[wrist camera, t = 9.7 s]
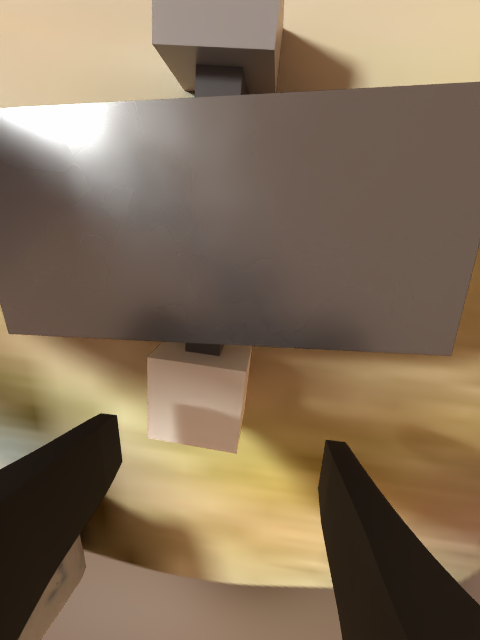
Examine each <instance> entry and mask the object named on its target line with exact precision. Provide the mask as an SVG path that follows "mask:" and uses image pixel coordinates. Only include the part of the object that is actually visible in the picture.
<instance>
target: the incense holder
mask: <svg viewBox="0 0 480 640" xmlns="http://www.w3.org/2000/svg"><path fill="white" fill-rule="evenodd" d="M85 568H86V565H85V559H84V552H83V547H82V544H81V538H80V535H79V536H78V538H77V539H76V541H75V542H74V544H73V545H72V547H71V548H70V550H69V551H68V553H67V555H66V556H65V558H64V559H63V561H62V562H61V564H60V565H59V567H58V569H57V570H56V572H55V574H54V575H53V577H52V578H51V580H50V582H49V584H48V585H47V587H46V589H45V591H44V593H43V594H42V596H41V598H40V600H39V602H38V604H37V605H36V607H35V609H34V611H33V613H32V614H31V616H30V618H29V620H28V622H27V623H26V625H25V627H24V629H23V631H22V633H21V635H20V637H19V639H18V640H41V639H42V638H43V636H44V635H45V633H46V631H47V630H48V628H49V627H50V625H51V624H52V622H53V621H54V620H55V618H56V617H57V615H58V614H59V612H60V611H61V609H62V608H63V606H64V605H65V603H66V602H67V600H68V599H69V597H70V595H71V594H72V592H73V591H74V589H75V588H76V586H77V585H78V583H79V582H80V580H81V578H82V576H83V573H84V570H85Z"/></svg>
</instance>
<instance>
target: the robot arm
mask: <svg viewBox="0 0 480 640" xmlns="http://www.w3.org/2000/svg"><path fill="white" fill-rule="evenodd" d="M121 463H122V454H121V446H120V437H119V429H118V420H117V415H110V414H102V413H101V414H99V415H97V416H95V417H93V418H91V419H89V420H87V421H86V422H84V423H82V424H80V425H79V426H77V427H75V428H73V429H72V430H70V431H68V432H67V433H65V434H63V435H61V436H60V437H58V438H56V439H54V440H53V441H51V442H49V443H48V444H46V445H44V446H42V447H41V448H39V449H37V450H35V451H34V452H32V453H30V454H28V455H26V456H24V457H22V458H21V459H19V460H17V461H15V462H13V463H11V464H9V465H8V466H6V467H4V468H2V469H0V640H18V639H19V637H20V635H21V633H22V631H23V629H24V627H25V625H26V623H27V622H28V620H29V618H30V616H31V614H32V613H33V611H34V609H35V607H36V605H37V604H38V602H39V600H40V598H41V596H42V594H43V593H44V591H45V589H46V587H47V585H48V584H49V582H50V580H51V578H52V577H53V575H54V574H55V572H56V570H57V569H58V567H59V565H60V564H61V562H62V561H63V559H64V558H65V556H66V555H67V553H68V551H69V550H70V548H71V547H72V545H73V544H74V542H75V541H76V539H77V538H78V536H79V535H80V533H81V532H82V530H83V529H84V527H85V526H86V524H87V522H88V521H89V519H90V518H91V516H92V515H93V513H94V512H95V510H96V509H97V507H98V505H99V504H100V502H101V501H102V499H103V498H104V496H105V494H106V493H107V491H108V489H109V488H110V486H111V484H112V482H113V480H114V478H115V476H116V474H117V472H118V470H119V467H120V465H121ZM318 492H319V505H320V515H321V525H322V530H323V536H324V541H325V546H326V551H327V557H328V562H329V567H330V572H331V578H332V583H333V588H334V593H335V598H336V604H337V608H338V614H339V620H340V626H341V632H342V639H343V640H480V605H479V604H478V603H477V602H476V601H475V600H474V599H473V598H472V597H471V596H470V595H469V594H468V593H467V592H466V591H465V590H464V589H463V588H462V587H461V586H460V585H459V584H458V583H457V581H456V580H455V579H454V578H453V577H452V576H451V575H450V574H449V573H448V572H447V571H446V570H445V569H444V567H443V566H442V565H441V564H440V563H439V562H438V561H437V560H436V559H435V558H434V556H433V555H432V554H431V553H430V552H429V551H428V550H427V549H426V547H425V546H424V545H423V544H422V543H421V542H420V540H419V539H418V538H417V537H416V536H415V534H414V533H413V532H412V531H411V530H410V528H409V527H408V526H407V525H406V524H405V522H404V521H403V520H402V519H401V517H400V516H399V515H398V514H397V512H396V511H395V510H394V509H393V507H392V506H391V505H390V503H389V502H388V501H387V499H386V498H385V497H384V495H383V494H382V493H381V492H380V490H379V489H378V488H377V486H376V485H375V483H374V482H373V481H372V479H371V478H370V477H369V475H368V474H367V472H366V471H365V470H364V468H363V467H362V465H361V464H360V462H359V461H358V459H357V458H356V457H355V455H354V454H353V452H352V451H351V449H350V448H349V446H348V445H347V444H346V443H345V442H339V441H331V440H326V442H325V448H324V454H323V461H322V467H321V473H320V480H319V486H318Z"/></svg>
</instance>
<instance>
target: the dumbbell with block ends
mask: <svg viewBox="0 0 480 640" xmlns="http://www.w3.org/2000/svg"><path fill="white" fill-rule="evenodd" d="M283 14H284V0H152V44H153V46H154V47H155V48H156V50H157V51H158V53H159V54H160V56H161V57H162V59H163V60H164V61H165V63H166V64H167V66H168V67H169V69H170V70H171V72H172V73H173V74H174V76H175V77H176V79H177V80H178V82H179V83H180V85H181V86H182V88H183V89H184V90H185V91H195V98H196V97H214V96H232V95H250V94H269V93H276V87H277V78H278V69H279V60H280V51H281V43H282V34H283ZM251 351H252V346H243V345H223V344H203V343H182V342H162V343H161V344H160V345H159V346H158V347H157V348H156V349H155V350H154V351H153V352H152V353H151V354H150V355H149V356H148V357H147V401H148V438H150V439H156V440H161V441H167V442H173V443H179V444H184V445H190V446H196V447H202V448H207V449H213V450H219V451H225V452H230V453H236V454H237V449H238V443H239V438H240V432H241V427H242V421H243V416H244V410H245V401H246V393H247V385H248V376H249V368H250V360H251Z"/></svg>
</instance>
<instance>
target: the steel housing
mask: <svg viewBox="0 0 480 640" xmlns="http://www.w3.org/2000/svg"><path fill="white" fill-rule="evenodd" d="M479 243H480V82H468V83H450V84H431V85H413V86H395V87H377V88H359V89H341V90H323V91H305V92H287V93H269V94H250V95H232V96H214V97H196V98H178V99H160V100H142V101H124V102H106V103H87V104H69V105H51V106H33V107H15V108H0V304H1V307H2V311H3V315H4V318H5V322H6V326H7V330H8V333H9V334H22V335H42V336H62V337H82V338H102V339H122V340H142V341H162V342H182V343H203V344H223V345H243V346H263V347H283V348H303V349H323V350H343V351H363V352H384V353H404V354H424V355H444V356H451V354H452V350H453V346H454V342H455V338H456V334H457V330H458V326H459V322H460V318H461V315H462V311H463V307H464V303H465V299H466V295H467V291H468V287H469V283H470V279H471V275H472V271H473V267H474V263H475V259H476V255H477V251H478V247H479Z"/></svg>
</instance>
